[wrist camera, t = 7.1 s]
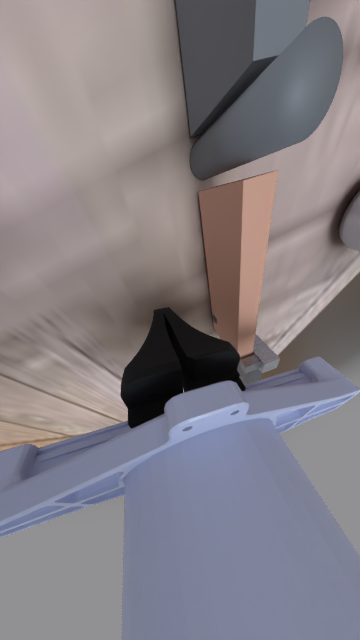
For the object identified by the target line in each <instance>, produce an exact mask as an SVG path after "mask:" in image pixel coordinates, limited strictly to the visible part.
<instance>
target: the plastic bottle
mask: <svg viewBox="0 0 360 640" xmlns="http://www.w3.org/2000/svg"><path fill="white" fill-rule="evenodd" d="M339 234H340V238H341V240H342V241H343V243H344V244H345V245H346V247H348V248H351V249H353V250H356V251H359V252H360V190H359V192H358V193H357V194H356V195H355V197H354V198H353V200H352V201H351V203H350V204H349V206H348V208H347V210H346V211H345V213H344V216H343V218H342V221H341V224H340V230H339Z"/></svg>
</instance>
